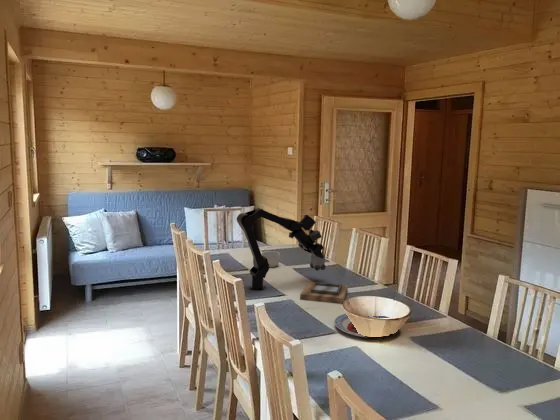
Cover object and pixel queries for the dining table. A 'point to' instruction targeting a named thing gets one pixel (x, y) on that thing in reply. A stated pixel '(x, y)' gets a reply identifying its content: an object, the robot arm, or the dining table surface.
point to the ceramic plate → (349, 324)
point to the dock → (324, 292)
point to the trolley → (318, 261)
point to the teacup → (272, 257)
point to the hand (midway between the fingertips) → (320, 256)
